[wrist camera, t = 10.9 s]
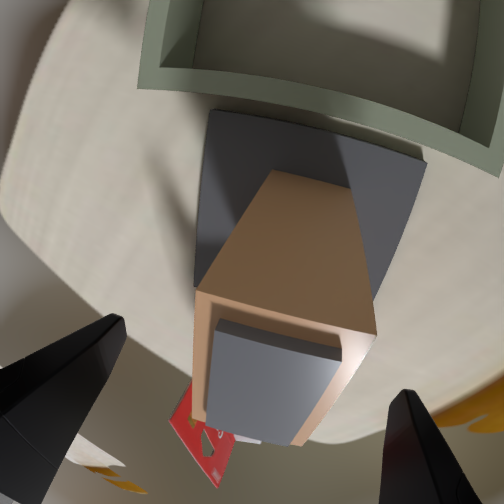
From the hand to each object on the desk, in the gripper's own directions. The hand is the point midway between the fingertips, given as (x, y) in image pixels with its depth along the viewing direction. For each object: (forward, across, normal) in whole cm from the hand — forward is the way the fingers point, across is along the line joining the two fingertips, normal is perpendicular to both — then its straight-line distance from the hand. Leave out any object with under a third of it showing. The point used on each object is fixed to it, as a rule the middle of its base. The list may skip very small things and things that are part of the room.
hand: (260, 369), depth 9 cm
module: (+9, 0, 0) cm, 9 cm away
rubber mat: (+10, 0, 0) cm, 10 cm away
